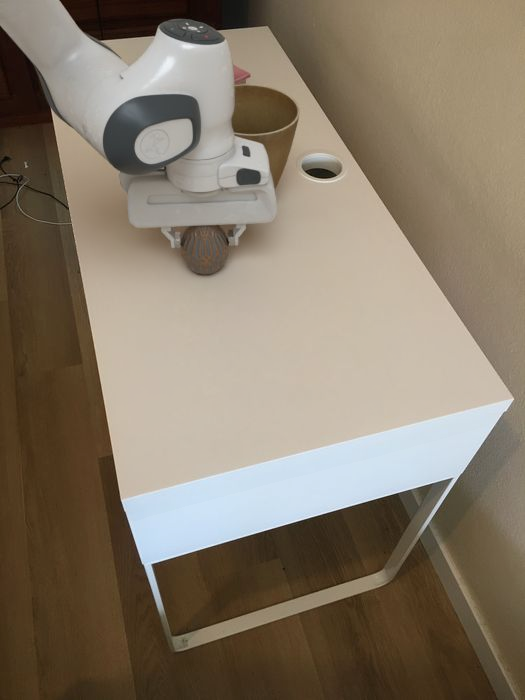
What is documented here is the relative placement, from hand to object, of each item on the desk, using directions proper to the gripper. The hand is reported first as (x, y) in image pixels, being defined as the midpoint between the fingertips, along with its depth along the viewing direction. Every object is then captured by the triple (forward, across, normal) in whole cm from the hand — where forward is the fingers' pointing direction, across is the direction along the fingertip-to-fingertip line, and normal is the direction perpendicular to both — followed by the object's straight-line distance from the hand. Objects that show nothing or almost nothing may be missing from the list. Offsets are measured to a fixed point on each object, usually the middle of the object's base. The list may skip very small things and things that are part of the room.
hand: (205, 244), depth 83 cm
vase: (+4, 0, 0) cm, 4 cm away
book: (+4, +1, +50) cm, 50 cm away
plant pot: (+4, +8, +16) cm, 19 cm away
